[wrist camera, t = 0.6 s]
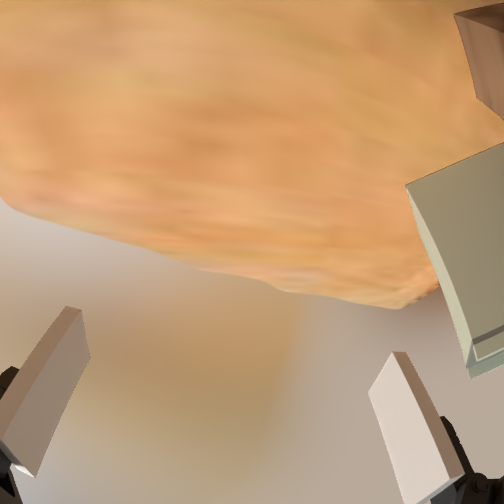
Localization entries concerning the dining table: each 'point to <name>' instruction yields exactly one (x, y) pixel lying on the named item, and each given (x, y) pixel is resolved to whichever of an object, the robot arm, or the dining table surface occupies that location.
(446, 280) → the grey-green storage box
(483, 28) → the brown wooden block
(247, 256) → the dining table surface
